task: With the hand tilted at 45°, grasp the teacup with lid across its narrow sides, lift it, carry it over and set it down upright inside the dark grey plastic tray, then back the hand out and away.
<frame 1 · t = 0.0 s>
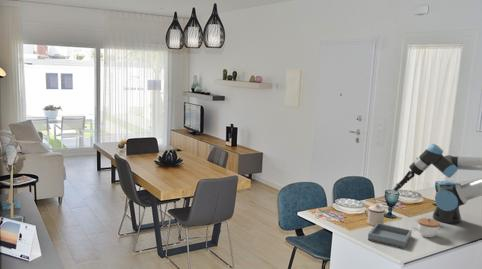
hand: (393, 191, 249), 15 cm above the counter, tool tilted 35°, fingers open, 13 cm apart
teacup with lid: (373, 223, 238), on the counter
tray: (389, 238, 217), on the counter
lidded jar: (427, 235, 223), on the counter
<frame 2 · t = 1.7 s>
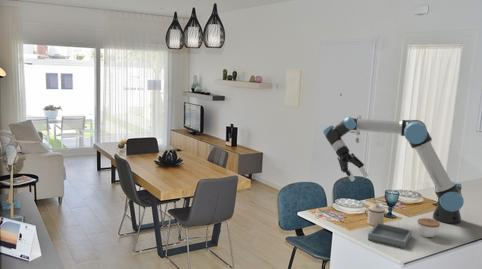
hand: (360, 178, 243), 24 cm above the counter, tool tilted 45°, fingers open, 13 cm apart
nothing on the counter moved.
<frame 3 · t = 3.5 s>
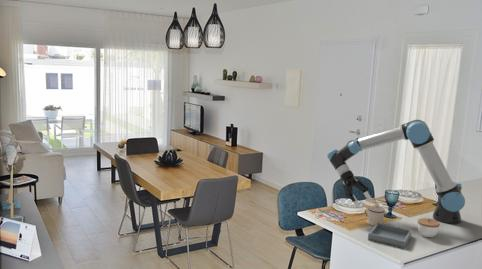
hand: (365, 203, 241), 10 cm above the counter, tool tilted 45°, fingers open, 13 cm apart
nothing on the counter moved.
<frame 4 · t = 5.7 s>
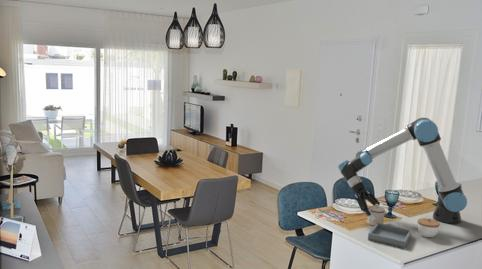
hand: (378, 218, 235), 4 cm above the counter, tool tilted 45°, fingers closed on teacup with lid, 9 cm apart
teacup with lid: (373, 223, 239), on the counter, touching gripper
everything else where it was.
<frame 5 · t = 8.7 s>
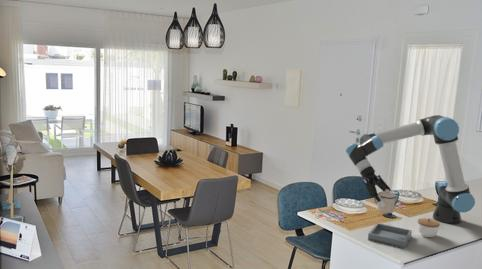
hand: (389, 204, 220), 16 cm above the counter, tool tilted 45°, fingers closed on teacup with lid, 9 cm apart
teacup with lid: (382, 210, 223), point 13 cm above the counter, touching gripper
everything else where it was.
when the fingers open (6 cm above the counter, at t = 11.9 s): teacup with lid drops 1 cm, resting on tray.
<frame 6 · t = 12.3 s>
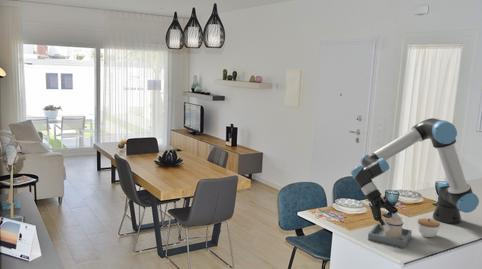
hand: (395, 227, 215), 7 cm above the counter, tool tilted 45°, fingers open, 13 cm apart
teacup with lid: (389, 237, 217), point 1 cm above the counter, touching tray
everything else where it was.
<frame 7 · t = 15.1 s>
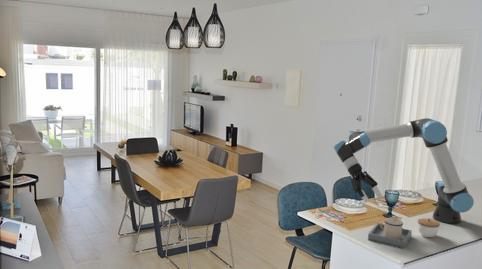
hand: (374, 199, 224), 18 cm above the counter, tool tilted 45°, fingers open, 13 cm apart
nothing on the counter moved.
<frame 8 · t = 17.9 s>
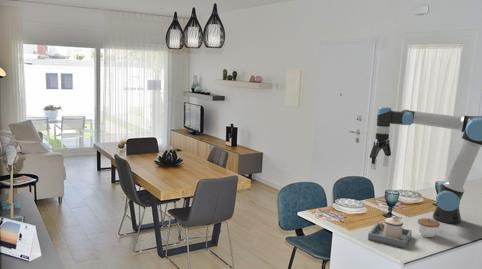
hand: (379, 167, 251), 29 cm above the counter, tool pointing down, fingers open, 13 cm apart
nothing on the counter moved.
at the end: teacup with lid inside the target area on the tray (0.2 cm from its centre), point 0.6 cm above the tray's base; teacup with lid tilted 0°; the gripper is holding nothing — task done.
